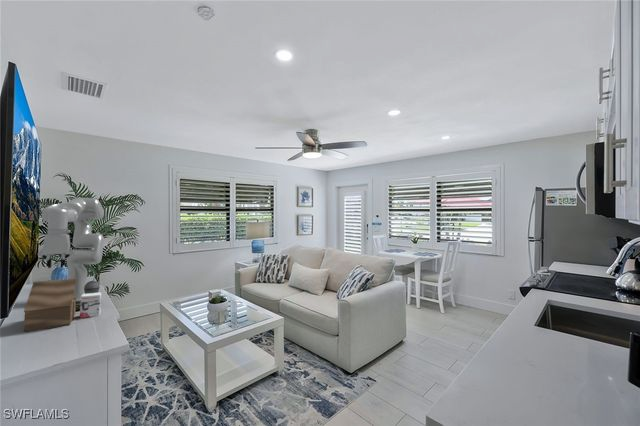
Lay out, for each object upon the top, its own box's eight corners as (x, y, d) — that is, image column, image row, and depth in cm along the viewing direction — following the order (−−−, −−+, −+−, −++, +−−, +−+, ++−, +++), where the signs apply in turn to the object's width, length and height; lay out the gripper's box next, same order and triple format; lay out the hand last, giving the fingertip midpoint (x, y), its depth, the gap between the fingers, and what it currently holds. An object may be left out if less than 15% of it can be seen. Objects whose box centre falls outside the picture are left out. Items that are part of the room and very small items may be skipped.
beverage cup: (86, 305, 166) (87, 272, 166) (100, 304, 169) (102, 271, 169) (80, 309, 159) (82, 275, 159) (96, 308, 162) (97, 274, 162)
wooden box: (34, 319, 144) (35, 301, 144) (75, 313, 153) (76, 297, 153) (23, 331, 129) (24, 312, 129) (69, 325, 138) (70, 307, 139)
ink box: (79, 318, 147) (80, 296, 147) (80, 315, 151) (81, 293, 151) (99, 315, 152) (100, 294, 152) (100, 313, 156) (101, 292, 156)
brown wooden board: (33, 283, 141) (33, 281, 141) (76, 279, 151) (76, 278, 150) (24, 312, 129) (23, 311, 129) (71, 306, 139) (70, 305, 138)
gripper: (79, 231, 153) (78, 265, 153) (36, 231, 143) (35, 267, 143) (77, 232, 147) (76, 267, 146) (32, 232, 137) (31, 270, 137)
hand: (55, 267), depth 145 cm, fingers open, 4 cm apart
